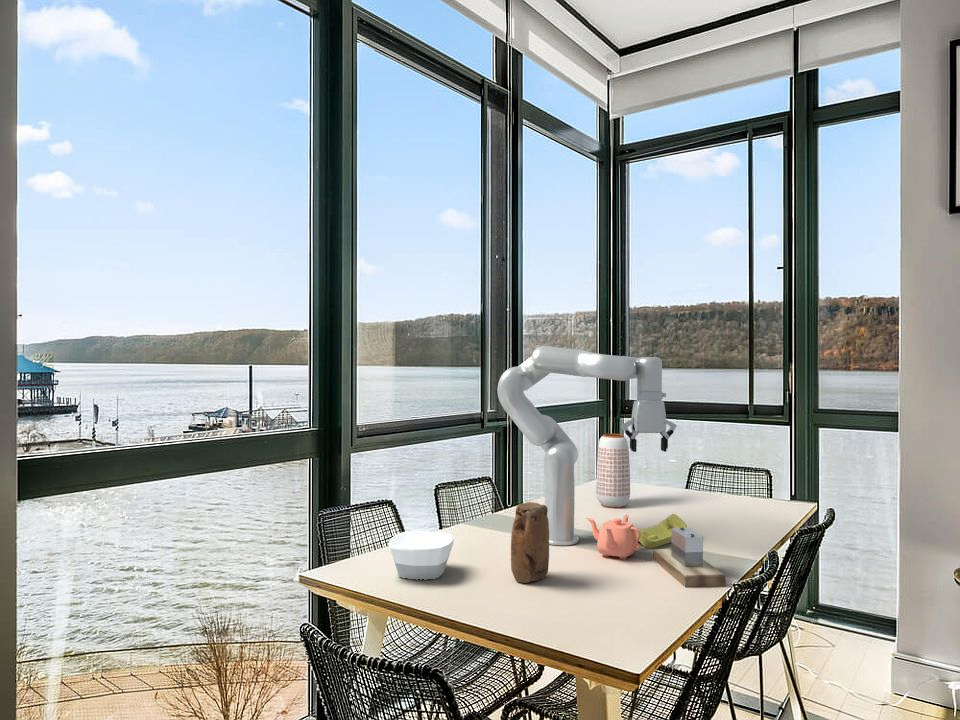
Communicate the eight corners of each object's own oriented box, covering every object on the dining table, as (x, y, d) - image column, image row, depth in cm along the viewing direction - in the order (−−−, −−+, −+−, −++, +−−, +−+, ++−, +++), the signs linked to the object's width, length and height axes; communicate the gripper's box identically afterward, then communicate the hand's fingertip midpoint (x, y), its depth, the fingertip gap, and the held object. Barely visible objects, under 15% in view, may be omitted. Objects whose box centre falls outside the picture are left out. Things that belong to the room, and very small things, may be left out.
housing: (688, 555, 200) (688, 526, 200) (702, 566, 190) (703, 535, 190) (671, 556, 200) (671, 526, 199) (685, 566, 190) (685, 536, 189)
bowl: (381, 582, 185) (381, 546, 185) (398, 562, 202) (398, 529, 202) (447, 585, 182) (447, 550, 182) (458, 565, 200) (458, 532, 200)
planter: (593, 501, 284) (594, 432, 283) (626, 502, 283) (627, 433, 283) (598, 509, 270) (598, 436, 270) (632, 509, 270) (633, 437, 269)
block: (528, 570, 195) (529, 499, 195) (551, 576, 190) (552, 503, 190) (506, 581, 186) (507, 506, 186) (530, 587, 182) (530, 510, 181)
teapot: (606, 564, 201) (606, 526, 201) (585, 550, 215) (585, 515, 215) (651, 560, 206) (651, 523, 205) (627, 546, 219) (627, 512, 219)
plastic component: (651, 542, 216) (629, 522, 223) (644, 561, 219) (622, 540, 226) (693, 529, 227) (671, 510, 234) (686, 546, 230) (664, 527, 237)
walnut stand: (685, 587, 182) (685, 575, 182) (653, 559, 206) (653, 549, 206) (725, 585, 183) (725, 574, 183) (689, 558, 207) (689, 548, 207)
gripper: (671, 395, 222) (671, 449, 222) (618, 395, 220) (618, 449, 221) (680, 397, 215) (680, 452, 215) (626, 397, 213) (625, 453, 213)
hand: (648, 451), depth 218 cm, fingers open, 9 cm apart
